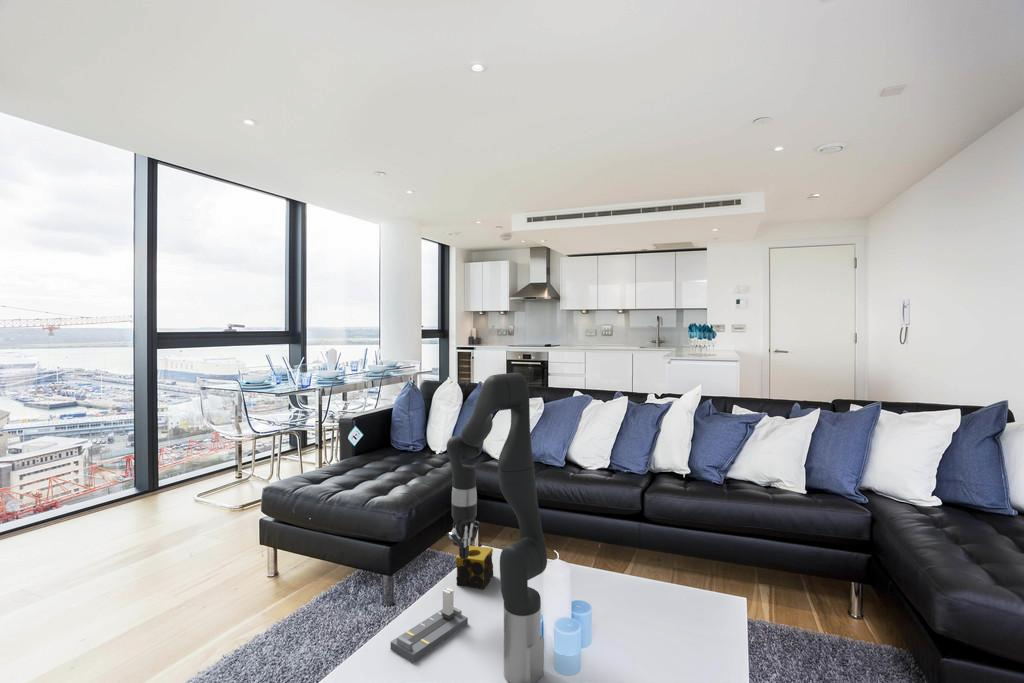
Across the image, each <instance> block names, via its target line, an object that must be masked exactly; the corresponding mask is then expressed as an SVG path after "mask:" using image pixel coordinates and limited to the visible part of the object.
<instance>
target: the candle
mask: <svg viewBox="0 0 1024 683" xmlns="http://www.w3.org/2000/svg"><path fill="white" fill-rule="evenodd" d="M493 550H494V548H493V547H486V546H477V545H469V555H468V558H466V559H462V558H460V556H459V553H458V554H457V556H456V557H455V562H456V564H455V566H456V567H455V568H456V578H455V579H456V586H458V587H463V588H464V587H465V588H471V589H472V588H473V589H477V590H478V589H479V590H485V589H486V587H487V586H488V585H489V583H490V581H491V579H492V578H493V577H494V564H493Z"/></svg>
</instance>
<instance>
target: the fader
mask: <svg viewBox="0 0 1024 683" xmlns="http://www.w3.org/2000/svg"><path fill="white" fill-rule="evenodd" d="M454 592H455V591H454V590H453V589H451V588H448V587H447V588H444V589H443V590H442V609H443V612H442V617H445V618H447V619H451V618H452V617H454V616H455V612H454V607H455V606H454V594H455V593H454Z"/></svg>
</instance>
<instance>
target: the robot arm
mask: <svg viewBox="0 0 1024 683" xmlns="http://www.w3.org/2000/svg"><path fill="white" fill-rule="evenodd" d="M479 390H480V391H479V393H478V396H477V398H476V402H475V405H474V408H473V411H472V414H471V416H470V417H469V419H468V420H467V421H466V423H465V424H464V426H463V428H462V430H461V432H460V435H454V436H451V437H449V439H448V440H447V442H446V453H447V456H448V458H449V462H450V466H451V467H450V468H451V471H452V489H451V517H452V518H453V519H452V520H453V523H452V529H451V531H450V532H447V533H446V536H447V538H448V540H450V542H451V543H452V545H453V546H455V547H458V548H459V549H458V554H459V556H460V558H462V559H466V558H468V555H469V546H471V543H472V542H474V541H475V539H476V536H477V534H478V532H479V529H480V526H481V522H479V521H477V520H476V517H477V514H478V513H477V507H478V506H477V505H478V501H477V500H478V495H477V494H478V492H477V471H476V467H474V466H472V465H469V464H462V460H466V459H474V458H477V457H478V456H480V455H481V453H482V452H483V446H484V442H485V440H486V439H487V438H488V436H489V434H490V433H491V431H492V429H493V418H492V414H493V413H494V412H496V411H507V410H510V428H509V431H508V435H507V437H506V439H505V442H504V444H503V446H502V449H501V450H500V453H499V456H498V460H497V473H498V483H499V490H500V491H501V493H502V495H503V497H504V500H505V501H506V502H507V504H508V505H509V507H510V508H511V509H512V510H513V512H514V514H515V515H516V518H517V523H518V527H519V540H517V541H515V542H513V543H512V542H511V543H510V544H508V545H506V546H504V547H503V548H502V550H501V552H500V556H499V578H500V580H499V581H500V592H501V597H502V599H503V675H504V678H505V680H506V681H507V682H509V683H536V682H538V681H539V680H540V679H541V678H542V677H543V675H544V674H545V637H544V636H542V635H541V634H542V632H541V630H542V629H541V626H542V625H541V623H542V622H541V621H542V620H541V618H542V617H541V615H542V613H541V610H542V608H541V607H542V605H541V604H542V601H541V600H542V599H541V595H540V593H539V591H537V590H536V589H534V588H532V587H530V586H529V584H528V583H529V582H528V581H530V580H531V579H533V578H535V577H536V578H537V576H539V575H541V574H542V573H544V571H545V570H546V568H547V564H548V553H547V552H548V551H547V547H546V542H545V536H544V532H543V527H542V521H541V516H540V510H539V508H540V507H539V502H538V495H537V482H536V471H535V463H534V458H533V457H534V456H533V449H532V440H531V419H530V417H531V416H530V415H531V414H530V413H531V411H530V407H531V406H530V390H529V385H528V381H527V379H526V376H524V375H523V373H521V372H508V373H499V374H497V373H496V374H492V375H489V376H488V377H487V378H486V379H485V380H484V381H483V383H482V386H481V388H480V389H479Z"/></svg>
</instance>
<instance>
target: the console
mask: <svg viewBox="0 0 1024 683" xmlns="http://www.w3.org/2000/svg"><path fill="white" fill-rule="evenodd" d="M442 612H443V608H442V609H441V610H439V611H437V612H436V613H434V614H432V615H431V616H429V617H427V618H426V619H424V620H423V621H421V622H419V623H418V624H416V625H415V626H413V627H411V628H410V629H409V630H406V631H405V632H404V633H402V634H401V635H400V634H399V636H397V637H396V638H394V639H393V640H391V641H390V650H392V651H394V653H396V654H398V655H400V656H402V657H403V658H405V659H407V660H409V661H410V662H412V663H414V662H417V660H419V659H420V658H422V657H423V656H425V655H426V654H427V653H428V652H430V651H431V650H433V649H435V648H436V647H437V646H439V645H440V644H442V643H443V642H445V641H446V640H447V639H448V638H450V637H452V636H454V634H456V633H457V632H459V631H461V630H462V629H463V628H465V627H466V626H467V625H469V618H468V617H467V616H466V615H463V614H462V609H458V608H457V607H455V606H454V612H455V616H454V617H452V618H451V619H447V618H445V617H442Z"/></svg>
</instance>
